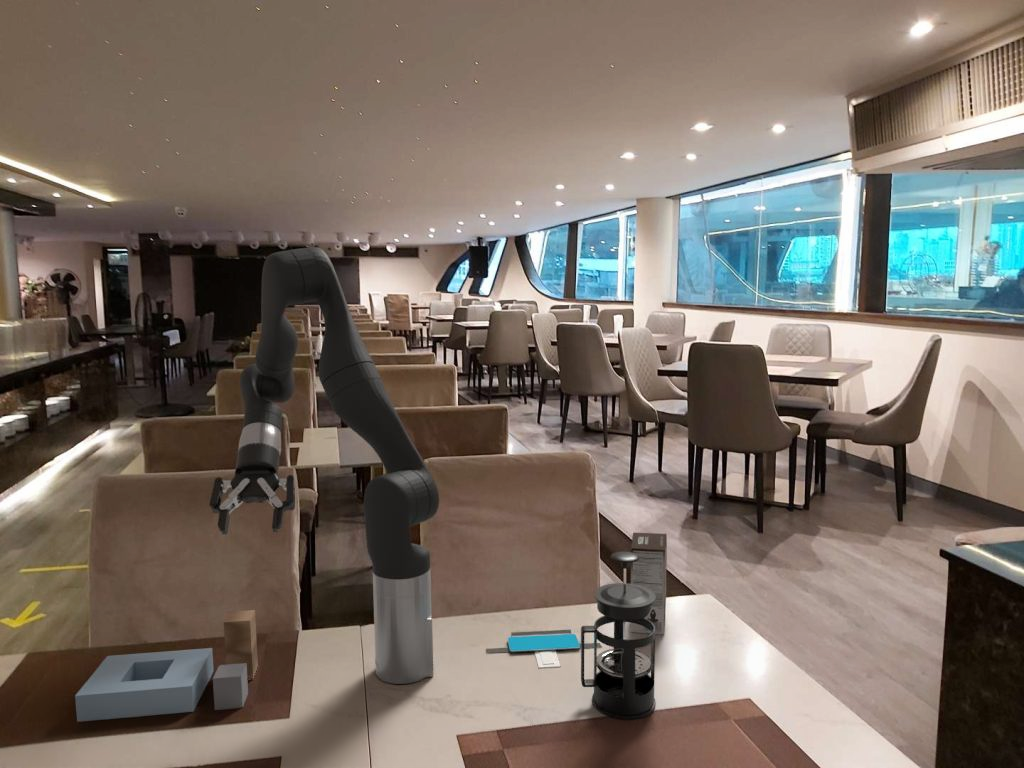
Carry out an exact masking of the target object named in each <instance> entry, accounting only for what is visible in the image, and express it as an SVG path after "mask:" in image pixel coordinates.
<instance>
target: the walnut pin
mask: <svg viewBox="0 0 1024 768" xmlns="http://www.w3.org/2000/svg"><path fill="white" fill-rule="evenodd" d="M256 623H257V622H256V610H255V609H250V610H249V609H248V610H236V611H235V610H234V611H229V612H228V614H227V615H226V617H225V620H224V621H223V631H224V636H223V637H224V652H225V665H228V664H241V663H247V679H253V678H254V679H255V677H254V675H255V676H256V674H257V672H256V670H257V671H258V669H257V667H258V668H259V663H258V662H259V661H258V641H257V640H258V639H257V627H256V626H257V624H256ZM255 673H256V674H255ZM254 679H253V680H254Z"/></svg>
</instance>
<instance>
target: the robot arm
mask: <svg viewBox="0 0 1024 768" xmlns="http://www.w3.org/2000/svg"><path fill="white" fill-rule="evenodd" d="M261 273H262V274H261V296H260V297H261V300H260V303H261V306H260V307H261V308H260V311H261V312H260V313H261V318H260V321H261V323H260V325H261V327H260V335H259V339H258V344H257V347H256V352H255V357H254V363H252V364H248V365H247V366H246V367H244V368H243V369H242V371H241V373H240V376H239V388H240V393H241V398H242V400H243V401H242V402H243V409H244V414H243V423H242V431H241V434H240V438H239V441H238V449H237V457H236V462H235V463H236V464H235V471H234V476H233V477H232V479H230V480H229V479H228V480H227V479H226V480H224V479H223V478H221V477H216V478H215V479H214V483H213V487H212V492H211V496H210V500H209V507H210V509H211V511H212V513H213V514H218V519H217V528H218V530H219V532H221V534H222V535H227V534H228V532H229V531H228V530H229V525H230V519H231V517H230V516H231V515H230V514H231V513H232V512H233V511H234V510H235V509H237V508H238V507H240V506H241V505H242V504H243V503H245V504H252V503H257V504H264V502H266V501H267V503H269V505H270V506H271V507H273V513H272V514H273V515H272V524H271V525H272V526H271V528H272V531H273V533H278V532H279V530H281V529H282V528H283V521H284V513H285V512H286V511H294V509H295V507H296V482H295V477H294V475H292V474H289V475H287V476H286V477H282V478H279V469H280V468H279V467H280V458H281V453H282V438H281V436H282V434H281V433H282V423H283V410H282V409H281V407H280V406H279V405H277V404H281V403H282V404H283V403H286V402H288V401H290V400H291V398H292V397H293V395H294V393H295V389H296V383H295V382H296V381H295V375H294V369H293V365H294V360H295V357H296V354H297V352H298V351H297V350H298V347H299V338H298V337H299V336H298V332H297V330H296V329H295V327H294V325H293V324H292V322H291V321H290V320H289V319H288V318H287V316H286V315H285V312H286V310H287V307H289V306H298V305H303V304H308V303H313V302H316V303H317V304H318V306H319V308H320V311H321V313H322V317H323V322H324V336H323V341H322V344H321V345H322V346H321V349H320V350H321V351H320V354H319V360H318V379H319V381H320V384H321V386H322V389H323V390H324V392H325V393H324V394H325V395H326V398H327V400H328V401H329V402H328V403H330V406H331V408H332V410H333V411H334V413H335V414H336V415H337V417H338V418H339V419H340V420H341V421H342V422H343V423H344V424H345V425H346V426H347V427H348V428H350V429H351V430H352V431H353V432H354V433H355V434H357V435H358V436H359V437H360V438H362V439H363V440H364V442H366V443H367V444H368V445H369V446H370V447H371V448H372V449H373V451H374V452H375V453H376V454H377V456H378V458H379V459H380V461H381V462H382V465H383V467H384V469H385V471H386V473H384V474H380V475H378V476H375V477H373V478H371V480H370V481H369V482H368V484H367V485H366V488H365V491H364V495H363V516H364V517H363V518H364V526H365V528H364V529H365V538H366V539H365V540H366V549H367V552H368V556H369V558H370V561H371V564H372V567H371V568H372V593H373V595H372V596H373V617H374V619H373V621H374V622H373V625H374V651H375V652H374V655H375V657H374V658H375V660H374V661H375V662H374V663H375V674H376V677H377V678H379V679H380V680H381V681H383V682H386V683H388V684H393V685H394V684H395V685H405V684H406V685H407V684H411V683H416V682H418V681H421V680H424V679H426V678H429V677H430V678H431V677H434V645H433V644H434V643H433V642H434V640H433V638H434V635H433V633H434V632H433V616H432V583H431V578H432V577H431V576H432V575H431V553H430V551H429V550H428V549H427V548H426V547H425V546H423V545H420V544H417V543H412V538H411V537H412V536H411V527H413V526H416V525H419V524H421V523H423V522H427V521H428V520H430V519H432V518H433V517H434V516H435V515H436V513H437V512H438V509H439V505H440V495H439V489H438V487H437V484H436V481H435V478H434V477H433V475H432V473H431V471H430V469H429V468H428V466H427V464H426V462H425V461H424V459H423V457H422V456H421V454H420V452H419V451H418V449H417V447H416V446H415V444H414V443H413V441H412V439H411V437H410V436H409V434H408V432H407V430H406V428H405V426H404V425H403V423H402V420H401V418H400V417H399V414H398V413H397V410H396V408H395V406H394V404H393V402H392V400H391V398H390V396H389V394H388V392H387V390H386V386H385V385H384V382H383V379H382V378H381V376H380V373H379V371H378V369H377V367H376V365H375V362H374V360H373V359H372V356H371V355H370V354H369V351H368V348H367V347H366V345H365V343H364V340H363V338H362V336H361V334H360V332H359V329H358V328H357V325H356V323H355V319H354V318H353V316H352V312H351V311H350V308H349V305H348V303H347V299H346V297H345V294H344V291H343V287H342V286H341V283H340V279H339V277H338V275H337V272H336V270H335V267H334V265H333V263H332V261H331V259H330V257H329V256H328V255H327V253H326V252H325V251H324V250H323V249H321V248H320V247H318V246H317V247H315V246H314V247H313V246H311V247H303V248H302V247H301V248H295V249H288V250H281V251H277V252H274V253H270V254H269V255H268V256H267V257H266V259H265V261H264V263H263V267H262V272H261ZM276 403H277V404H276ZM279 487H282V489H283V490H284V491H285V492H286V496H285V497H286V500H284V501H282V500H281V499H280V498H279V497H278V496H277V493H276V492H277V490H278V489H279ZM230 488H231V489H232V491H230V493H229V494H228V496H227V498H226V499H225V500H224V501H223V502H222V499H223V496H224V494H225V493H226V492H227V491H228V490H229V489H230Z"/></svg>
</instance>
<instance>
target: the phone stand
mask: <svg viewBox="0 0 1024 768" xmlns="http://www.w3.org/2000/svg"><path fill="white" fill-rule="evenodd" d="M507 642H508V644H507V647H495V648H493V647H492V648H491V647H490V648H486V653H487V654H494V653H496V654H497V653H499V654H505V653H507V654H508V653H525V652H534V655H535V660H536V663H537V667H538V669H549V668H550V669H552V668H553V669H554V668H561V664H560V662H559V658H558V655H557V651H562V650H564V651H566V650H581V643H579V640H578V638H577V634H575V633H572V629H556V630H555V629H554V630H538V631H536V630H535V631H532V630H531V631H515V632H510V634H509V637H507ZM601 644H602V643H601V642H597V648H602V645H601ZM590 648H593V649H594V642H591V643H586V642H585V643H584V650H585V649H590Z"/></svg>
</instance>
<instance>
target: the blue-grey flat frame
mask: <svg viewBox="0 0 1024 768" xmlns="http://www.w3.org/2000/svg"><path fill="white" fill-rule="evenodd" d="M214 672H215V671H214V657H213V647H207V648H195V649H193V648H191V649H183V650H182V649H180V650H169V651H156V652H152V651H151V652H141V653H129V654H115V655H113V654H112V655H107V656H106V657H105V658H104V660H103V661H102V662H101V663H100V664H99V666H98V667H97V668H96V669H95V671H94V672H93V673H92V674H91V676H89V678H88V679H87V680H86V682H85V683H84V684H83V685H82V686H81V688H80V689H79V690H78V691H77V693H76V694H75V695H74V697H75V698H74V699H75V711H76V721H77V722H78V723H79V722H90V721H91V722H93V721H101V720H111V719H112V720H114V719H123V718H125V719H126V718H138V717H147V716H149V717H150V716H158V715H168V714H169V715H171V714H179V713H180V714H181V713H182V714H183V713H191V712H192V713H193V712H194V711H195V709H196V708H197V705H198V704H199V702H200V699H201V698H202V696H203V693H204V691H205V689H206V687H207V685H208V683H209V681H210V680H211V677H212V675H213V673H214Z"/></svg>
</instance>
